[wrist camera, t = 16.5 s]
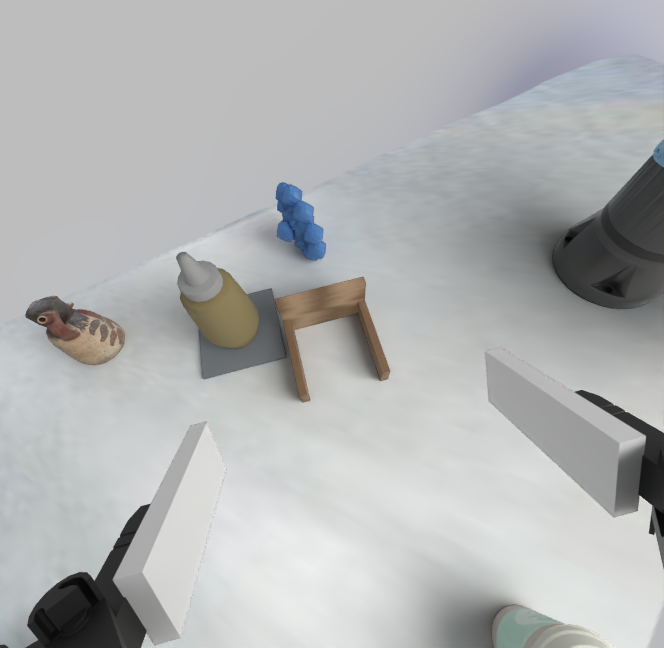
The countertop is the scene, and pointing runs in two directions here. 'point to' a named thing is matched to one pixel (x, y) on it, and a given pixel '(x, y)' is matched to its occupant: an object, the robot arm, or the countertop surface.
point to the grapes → (299, 222)
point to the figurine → (77, 330)
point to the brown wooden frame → (324, 308)
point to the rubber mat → (255, 353)
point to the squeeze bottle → (216, 303)
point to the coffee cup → (539, 631)
